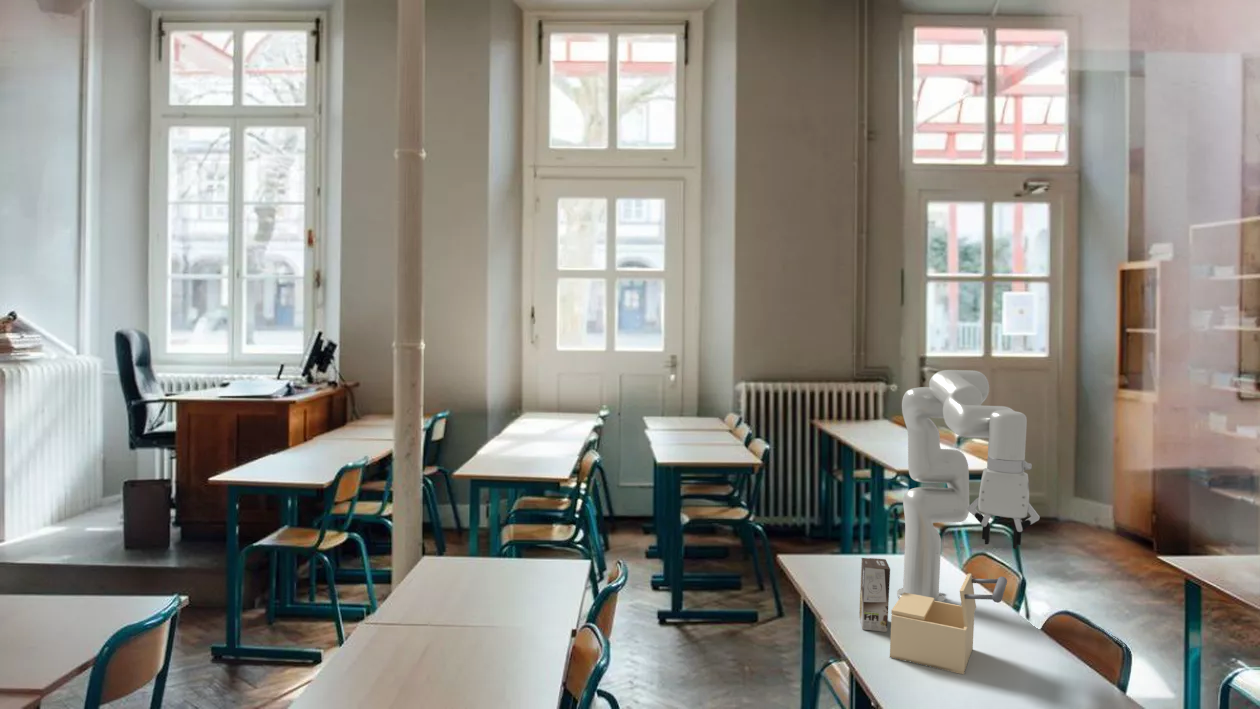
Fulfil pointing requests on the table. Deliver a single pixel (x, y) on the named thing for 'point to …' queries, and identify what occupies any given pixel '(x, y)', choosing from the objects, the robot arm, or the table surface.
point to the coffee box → (874, 594)
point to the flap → (969, 596)
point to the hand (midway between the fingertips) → (1001, 544)
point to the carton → (930, 633)
